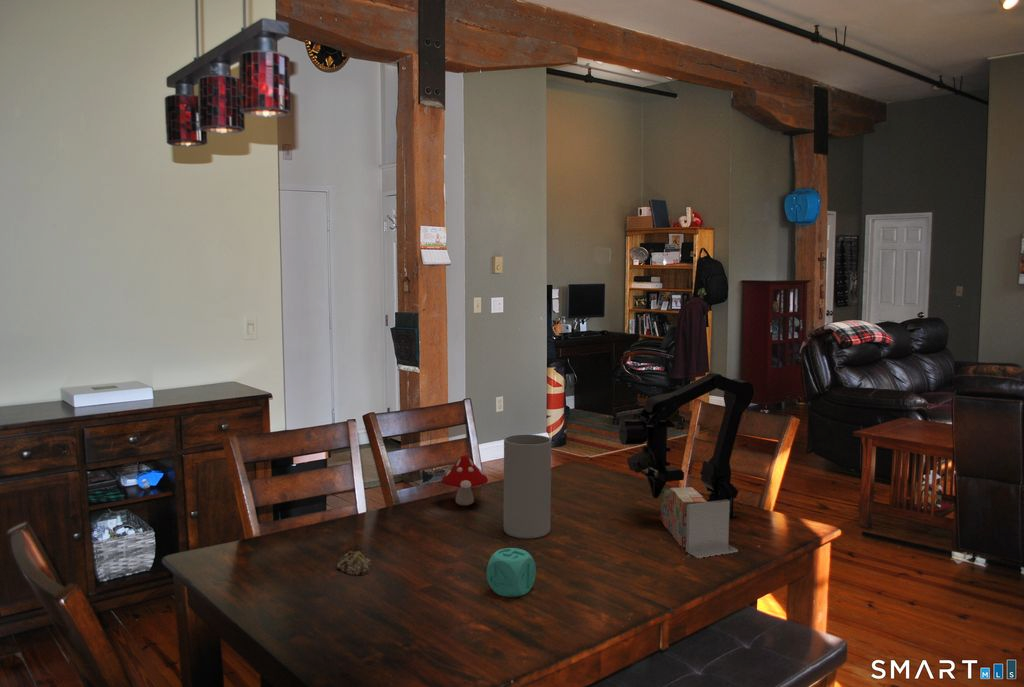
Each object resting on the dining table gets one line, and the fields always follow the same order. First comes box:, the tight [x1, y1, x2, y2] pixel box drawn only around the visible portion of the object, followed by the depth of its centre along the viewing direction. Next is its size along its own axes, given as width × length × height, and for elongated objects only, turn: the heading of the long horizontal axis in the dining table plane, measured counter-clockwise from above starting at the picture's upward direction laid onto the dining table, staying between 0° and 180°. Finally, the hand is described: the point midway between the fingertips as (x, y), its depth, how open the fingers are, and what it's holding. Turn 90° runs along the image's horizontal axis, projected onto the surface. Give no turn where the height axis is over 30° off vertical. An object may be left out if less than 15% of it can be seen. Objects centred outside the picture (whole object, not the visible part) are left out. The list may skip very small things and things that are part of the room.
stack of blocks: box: [660, 486, 708, 549], centre depth 203 cm, size 21×6×12 cm, turn 4°
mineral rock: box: [336, 550, 373, 576], centre depth 179 cm, size 11×4×8 cm
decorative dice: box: [486, 547, 537, 598], centre depth 167 cm, size 8×8×8 cm
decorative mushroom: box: [441, 454, 489, 507], centre depth 226 cm, size 14×14×15 cm
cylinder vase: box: [503, 434, 552, 540], centre depth 203 cm, size 12×12×25 cm
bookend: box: [685, 499, 739, 559], centre depth 190 cm, size 12×5×12 cm, turn 112°
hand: (655, 497), depth 213 cm, fingers closed
